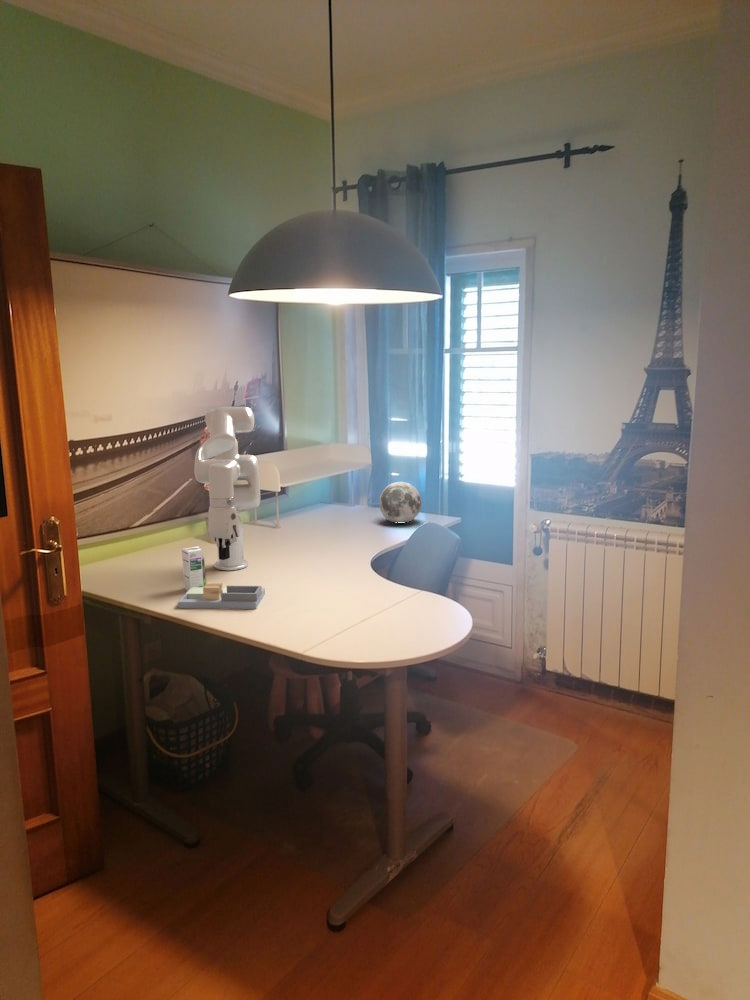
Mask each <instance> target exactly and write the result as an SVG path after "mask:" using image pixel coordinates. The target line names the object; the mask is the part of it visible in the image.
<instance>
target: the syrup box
mask: <svg viewBox="0 0 750 1000" xmlns="http://www.w3.org/2000/svg"><path fill="white" fill-rule="evenodd" d="M181 555H182V570H183V571H182V572H183V585H184V586H183V587H184V589H185V590H186V592H188V590H189V589H190V588H191V587H204V586H205V585H206V583H207V582H206V566H205V565H206V563H205V562H206V561H205V549H204V548H202V547H201V546H198V545H197V546H193V547H187V548H181Z"/></svg>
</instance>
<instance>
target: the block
mask: <svg viewBox="0 0 750 1000" xmlns="http://www.w3.org/2000/svg"><path fill="white" fill-rule="evenodd" d="M223 588H224V587H223V582H206V585H205V586H204V587H203V596H204V599H217V600H219V599H220V598H221V593H223Z"/></svg>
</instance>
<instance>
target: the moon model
mask: <svg viewBox="0 0 750 1000" xmlns="http://www.w3.org/2000/svg"><path fill="white" fill-rule="evenodd" d="M378 503H379V504H378V505H379V510H380V513H381V514H382V516H383V517H384V518H385V519H386V520H387V521H389V522H391V523H393V522H397V523H398V522H407V523H410V522H411V521H413V520H414V519H415V518H416V517H417V516H418V515H419V513H420V511H421V509H422V497H421V494H420V491H418V489H417V488H416V487H415V486H414V485H412V484H411V483H409V482H406V481H396V482H391V483H390V484H388V485H387V486H386V487H385V488H384V489H383V490H382V491H381V494H380V496H379V502H378ZM409 521H410V522H409ZM397 523H396V524H397Z"/></svg>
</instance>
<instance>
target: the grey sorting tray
mask: <svg viewBox="0 0 750 1000" xmlns="http://www.w3.org/2000/svg"><path fill="white" fill-rule="evenodd" d="M222 588H223V593H221V598H220V599H219V600H217V599H204V596H203V587H191V588H190V589H189V590H188V591H186V592H185V594H184V595H182V597H181V598H180V599H179V600H177V601H178V602H177V605H178V609H236V610H237V609H240V610H241V609H242V610H243V609H246V610H247V609H248V610H253V609H255V610H256V609H257V608H258V606H259V605H260V603H261V601H262V600H263V598H264V596H265V594H266V589H265V587H263V586H262V585H226V587H222Z"/></svg>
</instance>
